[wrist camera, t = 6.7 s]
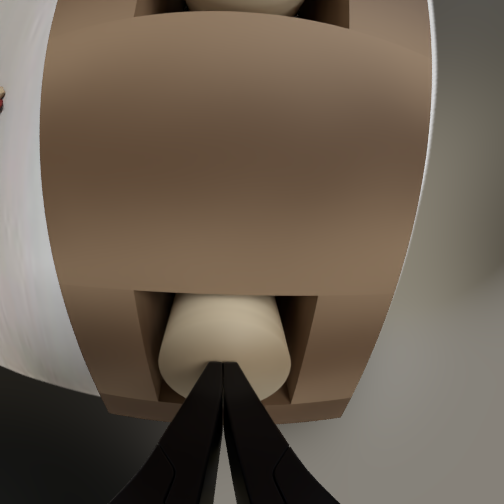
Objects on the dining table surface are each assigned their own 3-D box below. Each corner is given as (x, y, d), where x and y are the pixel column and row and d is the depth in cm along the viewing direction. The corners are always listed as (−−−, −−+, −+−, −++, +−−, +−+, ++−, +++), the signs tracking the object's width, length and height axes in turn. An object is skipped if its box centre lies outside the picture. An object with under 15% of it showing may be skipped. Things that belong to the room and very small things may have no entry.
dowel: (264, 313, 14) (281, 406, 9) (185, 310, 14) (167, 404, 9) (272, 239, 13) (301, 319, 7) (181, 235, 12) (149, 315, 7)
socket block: (311, 333, 16) (340, 417, 10) (138, 329, 15) (108, 413, 10) (350, -26, 8) (408, -81, 2) (143, -39, 7) (103, -102, 1)
